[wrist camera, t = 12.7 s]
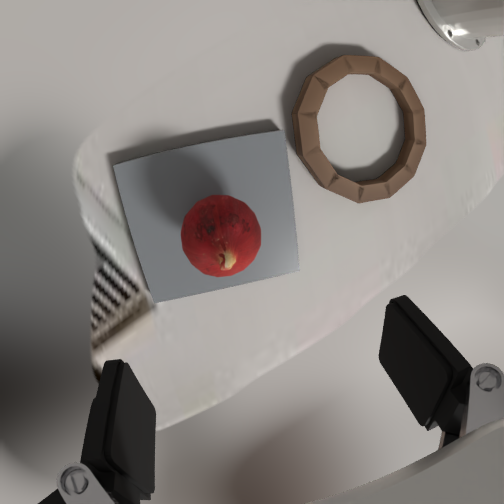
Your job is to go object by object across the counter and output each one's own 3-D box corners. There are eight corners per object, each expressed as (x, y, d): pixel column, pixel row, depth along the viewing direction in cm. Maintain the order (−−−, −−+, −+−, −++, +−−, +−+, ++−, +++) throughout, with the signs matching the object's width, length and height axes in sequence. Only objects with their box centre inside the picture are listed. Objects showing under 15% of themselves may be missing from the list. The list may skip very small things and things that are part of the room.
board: (280, 129, 25) (284, 130, 23) (295, 265, 30) (299, 270, 29) (116, 163, 23) (112, 165, 22) (155, 296, 29) (154, 303, 28)
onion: (169, 204, 24) (161, 240, 17) (234, 174, 24) (253, 197, 17) (200, 262, 27) (206, 315, 20) (261, 234, 27) (287, 279, 20)
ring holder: (408, 63, 23) (418, 61, 22) (417, 187, 29) (426, 191, 28) (283, 59, 22) (288, 55, 21) (302, 207, 28) (308, 212, 26)
